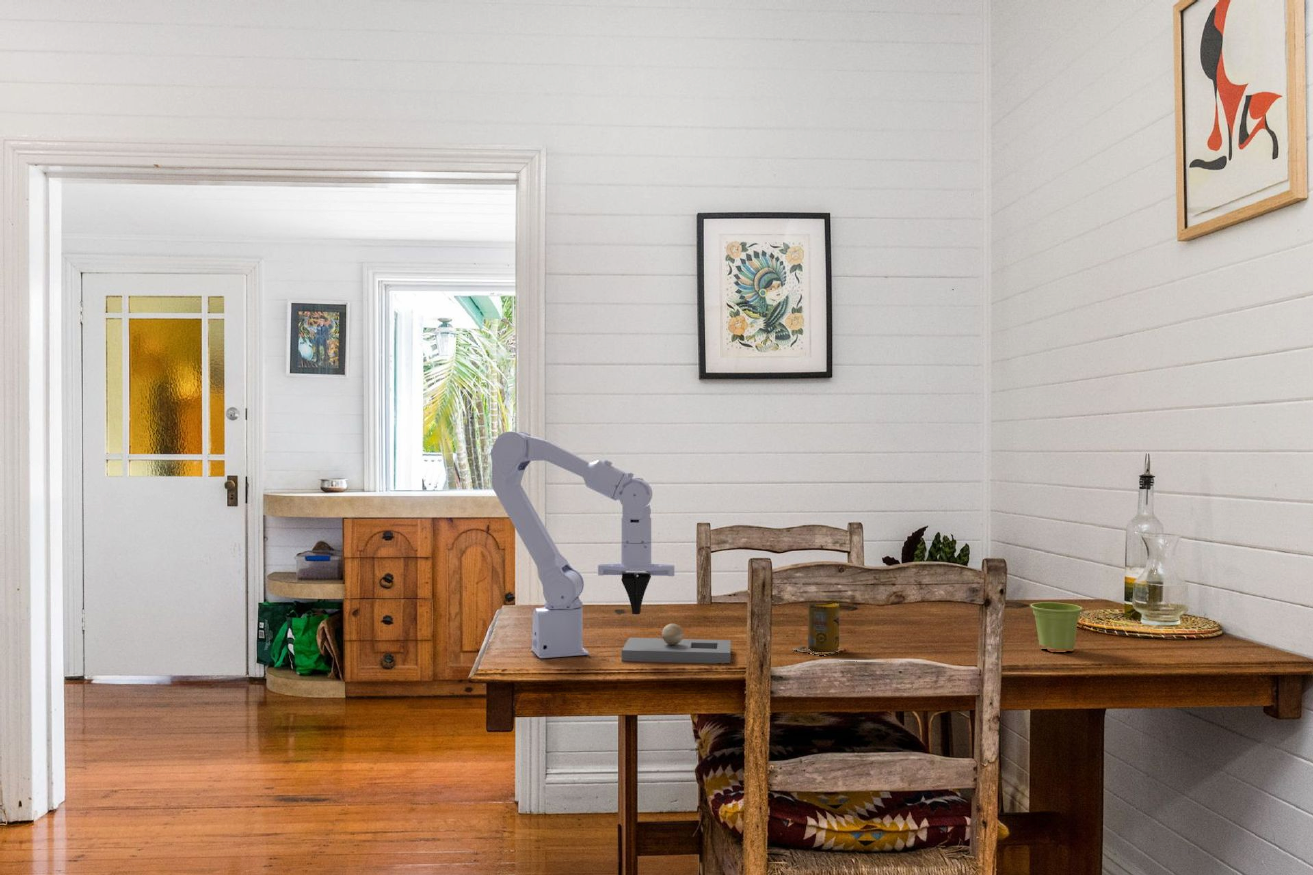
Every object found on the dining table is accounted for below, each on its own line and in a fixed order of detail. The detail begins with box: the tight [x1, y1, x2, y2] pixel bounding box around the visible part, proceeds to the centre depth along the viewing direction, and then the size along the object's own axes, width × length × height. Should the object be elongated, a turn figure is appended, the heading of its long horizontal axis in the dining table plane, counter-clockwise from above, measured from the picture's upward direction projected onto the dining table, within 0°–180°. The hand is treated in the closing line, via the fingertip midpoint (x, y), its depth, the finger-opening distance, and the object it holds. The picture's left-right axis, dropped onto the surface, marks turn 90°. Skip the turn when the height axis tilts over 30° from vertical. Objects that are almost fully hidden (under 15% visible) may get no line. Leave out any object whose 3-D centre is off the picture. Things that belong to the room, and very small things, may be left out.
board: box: [621, 637, 732, 665], centre depth 171 cm, size 20×11×2 cm, turn 85°
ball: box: [661, 623, 684, 645], centre depth 171 cm, size 4×4×4 cm
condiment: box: [792, 603, 840, 657], centre depth 176 cm, size 7×8×12 cm
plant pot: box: [1029, 601, 1083, 649], centre depth 177 cm, size 9×9×9 cm
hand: (636, 613), depth 172 cm, fingers closed
